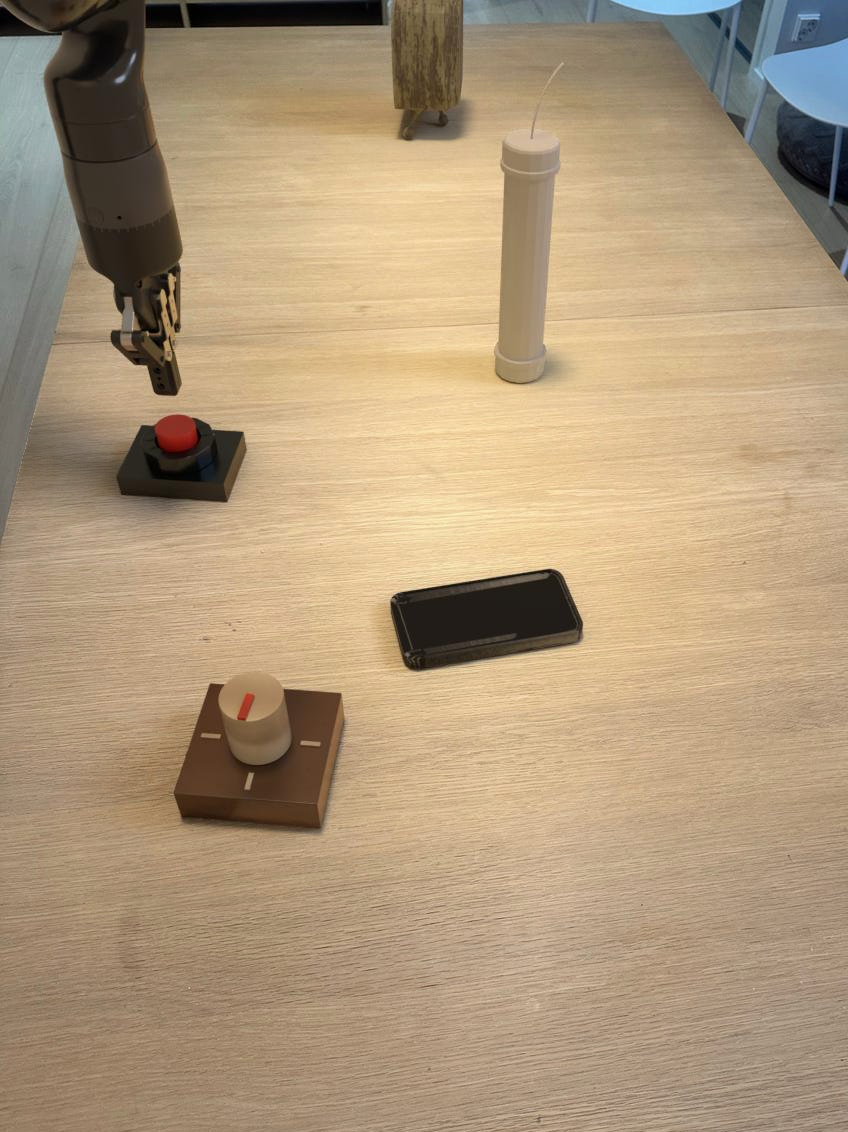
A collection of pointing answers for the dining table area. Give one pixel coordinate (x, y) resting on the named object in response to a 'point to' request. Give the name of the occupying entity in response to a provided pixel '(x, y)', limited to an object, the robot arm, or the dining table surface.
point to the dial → (255, 718)
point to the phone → (484, 618)
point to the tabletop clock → (426, 56)
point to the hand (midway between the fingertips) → (168, 390)
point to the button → (176, 433)
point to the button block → (183, 466)
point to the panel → (263, 766)
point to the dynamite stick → (525, 249)
